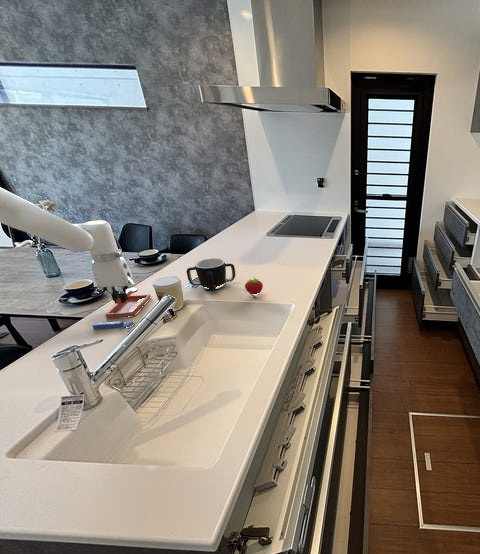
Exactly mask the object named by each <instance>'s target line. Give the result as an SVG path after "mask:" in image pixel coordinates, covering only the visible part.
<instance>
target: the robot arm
mask: <svg viewBox="0 0 480 554" xmlns="http://www.w3.org/2000/svg"><path fill="white" fill-rule="evenodd" d="M0 224H3V225H5V226H8V227H10V228H13V229H16V230H18V231H21V232H25V233H27V234H30V235H32V236H35V237H37V238H40V239H42V240H45V241H47V242H50V243H51V244H54V245H56V246H58V247H60V248H63V249H65V250H68V251H70V252H73V253H84V252H87V251H89V253H90V255H91V258H92V261H91V270H92V274H93V278H94V279H93V280H94V282H95V284H96V288H97V290H103V291H105V292H106V293H108V294H109V295H111V298H112V301H113V303H114V304H115V305H116V304H117V302H116V299H117V298H118V297H120V299H121V302H122V303H125V302H126V301H127V299H128V296H127V293H126V290H127V289H130V288H134V287H135V285H136V284H135V282H134V276H133V274H132V271H131V269H130V267H129V265H128V263H127V261H126V259H125V258H124V255H125V254H124V252H120V250H119V248H118V244H117V242H116V238H115V235H114V232H113V229H112V226H111V224H110V222H108V221H105V220H92V221H87V222H83V223H72V222H70V221H67V220H66V219H63V218H61V217H59V216H57V215H55V214H53V213H51V212H50V211H47V210H46V209H43V208H42V207H40V206H38V205H36V204H34V203H32V202H30V201H28V200H27V199H25V198H22V197H20V196H19V195H17V194H15V193H14V192H13V193H12V192H11V191H8V190H7V189H5V188H2V187H0ZM116 287H117V288H118V290H117V288H116Z"/></svg>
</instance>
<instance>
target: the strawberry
mask: <svg viewBox="0 0 480 554" xmlns="http://www.w3.org/2000/svg"><path fill="white" fill-rule="evenodd" d="M244 288H245V291H246V292H247V293H248V294H249V295H251V294H257V293H259V294H260V293H261V292H262V290H263V288H264V285H263V282H262V281H261V280H259V279H258V278H257V277H253V279H248V280H247V281H246V282H245V284H244Z"/></svg>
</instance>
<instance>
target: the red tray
mask: <svg viewBox="0 0 480 554" xmlns="http://www.w3.org/2000/svg"><path fill="white" fill-rule="evenodd" d="M150 297H151V298H152V296H151V294H134V295H133V294H131V295H130V296H129V297H128V299H127V301H126V302H125V303H122V304H115V305H114V306H112V308H110V309H109V310H108V311H107V312H106V313H105V314H104V316H105V318H106V319H107V320H113V319H122V318H121V317H127V318H129V317H128V316H135V314H136V313H137V312H138V311H139V310H140V309H141V308H142V306H144V304H145V303H146V302H147V301H148V300H149V299H150ZM142 298H145V299H144V300H143V301H142V302H141V303H140V304H139V305H138V306H137V308H136V309H135V310H134V311H133V312H129V310H130V309H131V307H133V306H135V304H137V303H138V302H137V301H138V300H139V299H142ZM150 300H151V299H150ZM133 304H134V305H133ZM144 307H145V306H144ZM142 310H143V308H142V309H141V311H142ZM135 317H136V316H135ZM127 318H126V319H127Z"/></svg>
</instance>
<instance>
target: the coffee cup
mask: <svg viewBox="0 0 480 554" xmlns="http://www.w3.org/2000/svg"><path fill="white" fill-rule="evenodd" d="M152 287H153V289H154V292H155V295H156V298H157V301H158V302H159V301H160V300H161V299H162V298H163V297H164V296H165V295H171V296H173V297H175V298H176V299H177V303H176V304H175V306H174V307H173V308H174V309H178V308H179V307H180V306H182V305H183V302H184V303H185V301H184V300H185V299H184V294H183V287H182V280H181V278H180V277H178V276H164V277H160V278H158V279H155V280H154V281H153V283H152ZM181 310H182V309H180V310H179V311H181Z"/></svg>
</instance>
